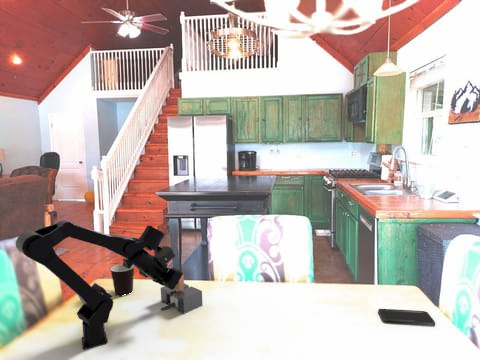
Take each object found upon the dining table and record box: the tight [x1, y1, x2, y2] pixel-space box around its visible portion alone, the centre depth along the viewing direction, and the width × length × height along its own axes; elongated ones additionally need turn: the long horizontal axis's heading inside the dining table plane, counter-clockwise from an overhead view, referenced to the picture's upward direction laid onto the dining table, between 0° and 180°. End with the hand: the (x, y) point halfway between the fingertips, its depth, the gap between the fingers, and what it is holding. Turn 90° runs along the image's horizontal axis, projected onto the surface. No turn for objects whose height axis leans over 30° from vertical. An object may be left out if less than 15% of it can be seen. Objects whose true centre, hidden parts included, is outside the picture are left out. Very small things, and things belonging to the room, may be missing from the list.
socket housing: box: [160, 283, 204, 315], centre depth 119 cm, size 8×14×5 cm, turn 47°
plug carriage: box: [160, 274, 185, 312], centre depth 116 cm, size 10×5×11 cm, turn 137°
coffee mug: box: [110, 263, 135, 296], centre depth 131 cm, size 12×9×10 cm
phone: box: [377, 308, 436, 326], centre depth 105 cm, size 8×1×15 cm
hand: (175, 284), depth 117 cm, fingers closed, pressing on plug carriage
